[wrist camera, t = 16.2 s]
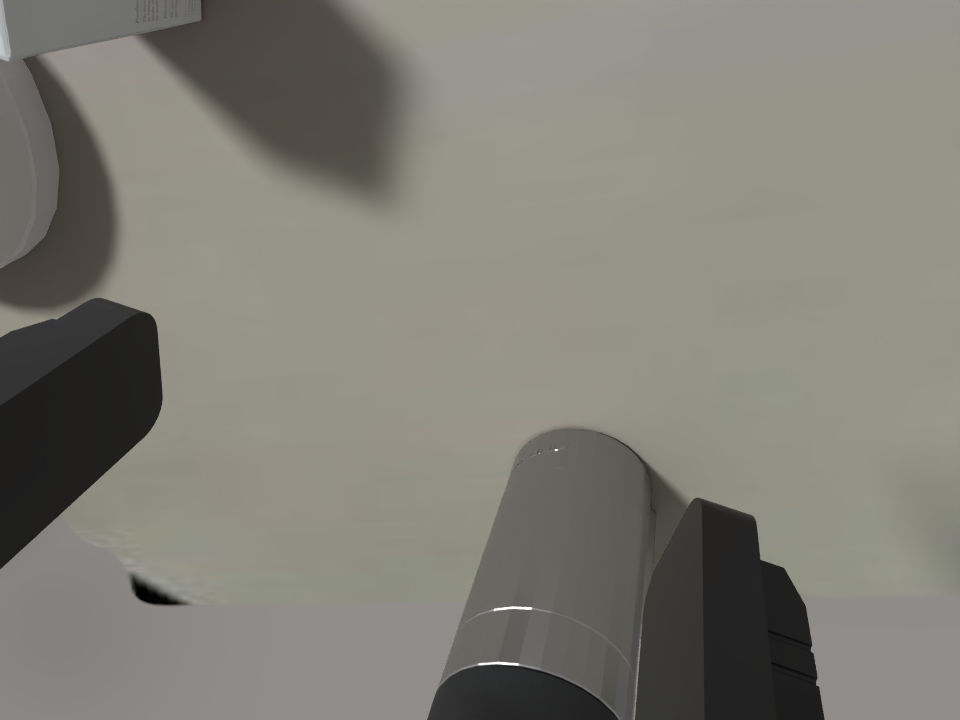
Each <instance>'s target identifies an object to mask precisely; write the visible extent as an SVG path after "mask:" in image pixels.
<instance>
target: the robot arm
mask: <svg viewBox="0 0 960 720" xmlns="http://www.w3.org/2000/svg"><path fill="white" fill-rule="evenodd" d="M162 399H163V395H162V382H161V369H160V357H159V345H158V332H157V325H156V322H155V320H154V318H153V317H152V316H151V315H150V314H148V313H146V312H143V311H140V310H137V309H134V308H131V307H128V306H125V305H122V304H119V303H115V302H112V301H109V300H106V299H103V298H94V299H91V300H89V301H87V302H85V303H83V304H82V305H80V306H78V307H77V308H75V309H73V310H72V311H70V312H69V313H67V314H65V315H64V316H62V317H60V318H59V319H57V320H55V319H50V320H47V321H44V322H41V323H37V324H34V325H31V326H28V327H24V328H21V329H18V330H14V331H11V332H9V333H8V334H6V335H4V336H2V337H1V338H0V569H1V568H2V567H3V566H4V565H5V564H6V563H7V562H9V561H10V560H11V559H12V558H13V557H14V556H15V555H16V554H17V553H18V552H19V551H20V550H22V549H23V548H24V547H25V546H26V545H27V544H28V543H29V542H30V541H31V540H33V539H34V538H35V537H36V536H37V535H38V534H39V533H40V532H41V531H42V530H44V528H46V527H47V526H48V525H49V524H50V523H51V522H52V521H53V520H54V519H56V518H57V517H58V516H59V515H60V514H61V513H62V512H63V511H64V510H65V509H66V508H67V507H69V506H70V505H71V504H72V503H73V502H74V501H75V500H76V499H77V498H78V497H79V496H81V495H82V494H83V493H84V492H85V491H86V490H87V489H88V488H89V487H90V486H91V485H93V484H94V483H95V482H96V481H97V480H98V479H99V478H100V477H101V476H102V475H103V474H105V473H106V472H107V471H108V470H109V469H110V468H111V467H112V466H113V465H114V464H115V463H117V462H118V461H119V460H120V459H121V458H122V457H123V456H124V455H125V454H126V453H127V452H129V451H130V450H131V449H132V448H133V447H134V446H135V445H136V444H137V443H138V442H139V441H141V440H142V439H143V438H144V437H145V436H146V435H147V434H148V432H149V431H150V430H151V428H152V427H153V425H154V424H155V422H156V420H157V418H158V415H159V413H160V410H161V406H162ZM650 501H651V484H650V478H649V476H648V473H647V471H646V469H645V466H644V465H643V464H642V462H641V461H640V460H639V458H638V457H637V456H636V455H635V454H634V453H633V452H632V451H631V450H630V449H628V448H627V447H626V446H625V445H623V444H621V443H620V442H618V441H617V440H615V439H613V438H611V437H608V436H606V435H603V434H601V433H598V432H593V431H589V430H584V429H561V430H554V431H551V432H548V433H545V434H542V435H539V436H538V437H536V438H534V439H533V440H531V441H529V442H528V443H527V444H526V445H525V446H524V447H523V448H522V449H521V451H520V452H519V454H518V456H517V458H516V459H515V462H514V465H513V468H512V471H511V474H510V477H509V480H508V483H507V486H506V489H505V492H504V495H503V497H502V500H501V503H500V506H499V509H498V512H497V515H496V517H495V520H494V523H493V526H492V529H491V532H490V535H489V538H488V541H487V544H486V547H485V550H484V553H483V556H482V559H481V562H480V564H479V567H478V570H477V573H476V576H475V579H474V582H473V585H472V588H471V591H470V594H469V597H468V600H467V603H466V606H465V609H464V611H463V614H462V617H461V621H460V623H459V626H458V629H457V632H456V635H455V638H454V642H453V644H452V647H451V651H450V653H449V656H448V659H447V662H446V665H445V668H444V671H443V674H442V677H441V680H440V683H439V686H438V689H437V691H436V695H435V697H434V700H433V703H432V706H431V709H430V713H429V716H428V719H427V720H633V717H634V705H635V689H636V676H637V663H638V651H639V639H641V649H640V661H639V674H638V687H637V701H636V714H635V720H824V714H823V708H822V702H821V696H820V690H819V687H818V686H816V680H817V671H816V665H815V660H814V654H813V653H812V652H811V646H812V641H811V635H810V629H809V623H808V618H807V611H806V606H805V604H804V602H803V601H802V599H801V597H800V595H799V594H798V592H797V590H796V588H795V586H794V585H793V583H792V581H791V579H790V578H789V576H788V574H787V572H786V570H785V569H784V568H783V567H780V566H777V565H774V564H771V563H768V562H765V561H762V560H760V552H759V542H758V533H757V525H756V521H755V518H754V517H753V516H752V515H749V514H746V513H743V512H740V511H737V510H734V509H731V508H728V507H725V506H722V505H719V504H716V503H713V502H710V501H707V500H704V499H701V498H695V499H694V500H693V501H692V502H691V503H690V505H689V507H688V508H687V510H686V512H685V514H684V516H683V518H682V520H681V521H680V523H679V525H678V527H677V529H676V531H675V533H674V535H673V536H672V538H671V540H670V542H669V544H668V546H667V548H666V550H665V551H664V553H663V555H662V557H661V559H660V561H659V563H658V565H657V567H656V569H655V571H654V573H653V558H654V543H655V528H656V515H655V513H654V512H653V511H652V509H651V507H650ZM652 573H653V575H652Z"/></svg>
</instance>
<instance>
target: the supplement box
mask: <svg viewBox="0 0 960 720" xmlns="http://www.w3.org/2000/svg"><path fill="white" fill-rule="evenodd" d="M197 21H201V0H0V59H2V60H4V61H7V62H13V61H16V60H20V59H24V58H27V57H31V56H35V55H40V54H44V53H49V52H54V51H58V50H63V49H68V48H73V47H78V46H83V45H88V44H93V43H98V42H103V41H108V40H113V39H118V38H123V37H128V36H133V35H138V34H143V33H147V32H152V31H157V30H162V29H167V28H170V27H174V26H179V25H184V24H188V23H193V22H197Z"/></svg>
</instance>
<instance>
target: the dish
mask: <svg viewBox="0 0 960 720" xmlns="http://www.w3.org/2000/svg"><path fill="white" fill-rule="evenodd" d="M58 185H59V164H58V158H57V153H56V147H55V141H54V136H53V130H52V125H51V122H50V119H49V117H48V114H47V112H46V109H45V107H44V104H43V102H42V99H41V96H40V94H39V91H38V89H37V86H36V84H35V81H34V79H33V76H32V74H31V72H30V70H29V69H28V67H27V65H26V64H25V62H24V60H23V59H20V60H16V61H13V62H7V61H4V60H2V59H0V268H3V267H4V266H5V265H7V264H9V263H11V262H13V261H15V260H17V259H19V258H21V257H23V256H25V255H26V254H27V253H28V252H30V251H31V250H32V249H33V248H34V247H35V246H36V245H37V244H38V243H39V242H40V241H41V240H42V239H43V238H44V237H45V236H46V233H47V231H48V228H49V226H50V224H51V221H52V219H53V216H54V214H55V211H56V209H57V200H58Z"/></svg>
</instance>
